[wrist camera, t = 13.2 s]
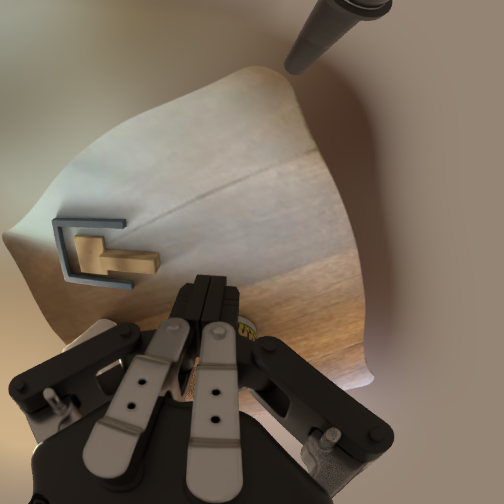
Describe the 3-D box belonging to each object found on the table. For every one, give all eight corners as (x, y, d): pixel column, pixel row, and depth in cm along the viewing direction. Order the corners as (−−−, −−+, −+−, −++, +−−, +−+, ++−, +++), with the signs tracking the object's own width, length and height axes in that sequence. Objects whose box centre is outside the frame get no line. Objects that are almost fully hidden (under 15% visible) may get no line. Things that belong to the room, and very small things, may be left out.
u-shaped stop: (125, 219, 40) (122, 221, 39) (134, 286, 45) (132, 290, 44) (55, 217, 39) (51, 220, 38) (68, 278, 45) (65, 281, 44)
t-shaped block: (158, 239, 41) (152, 246, 39) (161, 278, 44) (156, 287, 42) (76, 234, 41) (68, 241, 38) (83, 270, 44) (76, 277, 41)
